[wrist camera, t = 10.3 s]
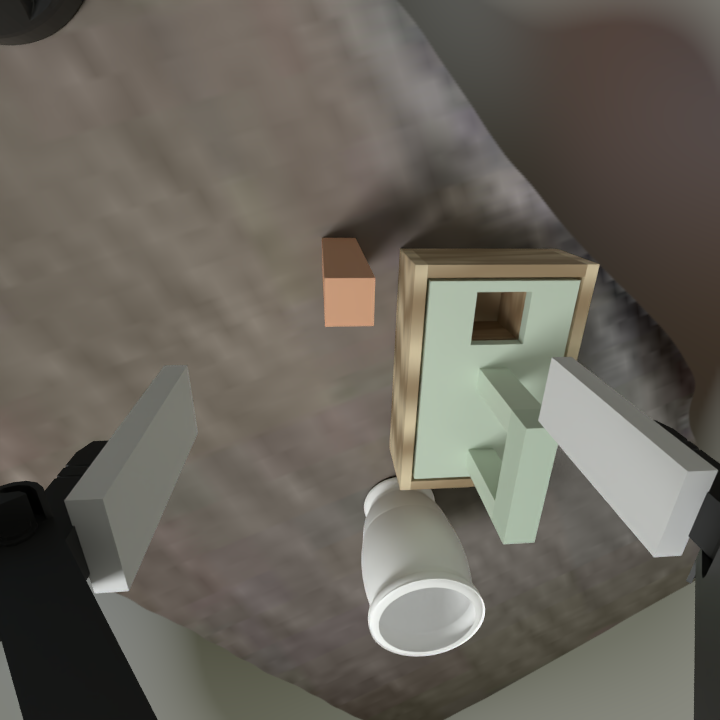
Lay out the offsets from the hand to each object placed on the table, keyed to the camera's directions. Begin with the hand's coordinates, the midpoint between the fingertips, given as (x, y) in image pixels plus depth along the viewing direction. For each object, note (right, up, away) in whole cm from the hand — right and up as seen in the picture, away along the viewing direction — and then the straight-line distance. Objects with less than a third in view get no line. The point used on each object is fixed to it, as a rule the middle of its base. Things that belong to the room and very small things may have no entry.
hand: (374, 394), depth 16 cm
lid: (+11, -1, +24) cm, 27 cm away
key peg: (-3, +11, +24) cm, 27 cm away
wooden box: (+10, +2, +30) cm, 31 cm away
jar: (+4, -16, +37) cm, 40 cm away
